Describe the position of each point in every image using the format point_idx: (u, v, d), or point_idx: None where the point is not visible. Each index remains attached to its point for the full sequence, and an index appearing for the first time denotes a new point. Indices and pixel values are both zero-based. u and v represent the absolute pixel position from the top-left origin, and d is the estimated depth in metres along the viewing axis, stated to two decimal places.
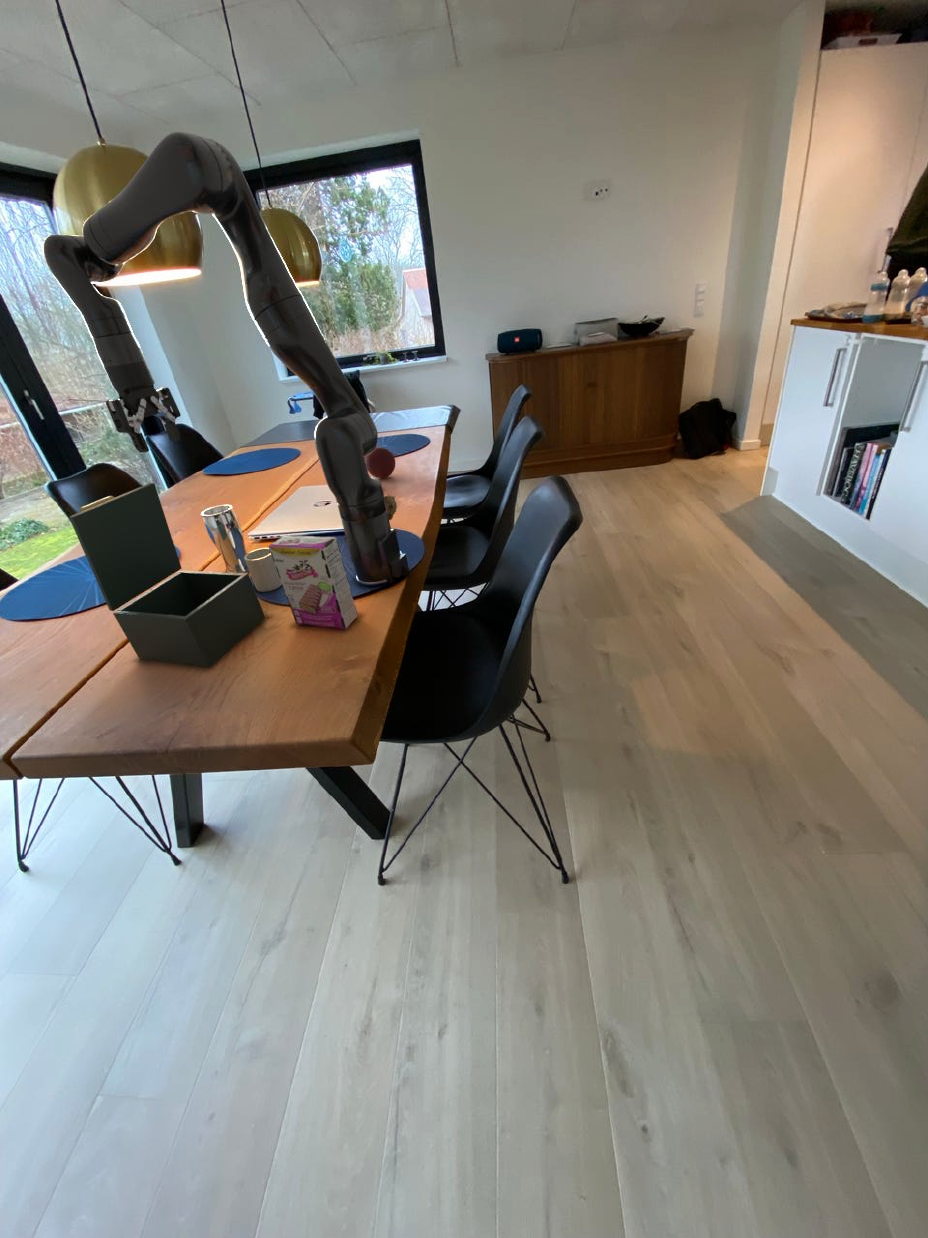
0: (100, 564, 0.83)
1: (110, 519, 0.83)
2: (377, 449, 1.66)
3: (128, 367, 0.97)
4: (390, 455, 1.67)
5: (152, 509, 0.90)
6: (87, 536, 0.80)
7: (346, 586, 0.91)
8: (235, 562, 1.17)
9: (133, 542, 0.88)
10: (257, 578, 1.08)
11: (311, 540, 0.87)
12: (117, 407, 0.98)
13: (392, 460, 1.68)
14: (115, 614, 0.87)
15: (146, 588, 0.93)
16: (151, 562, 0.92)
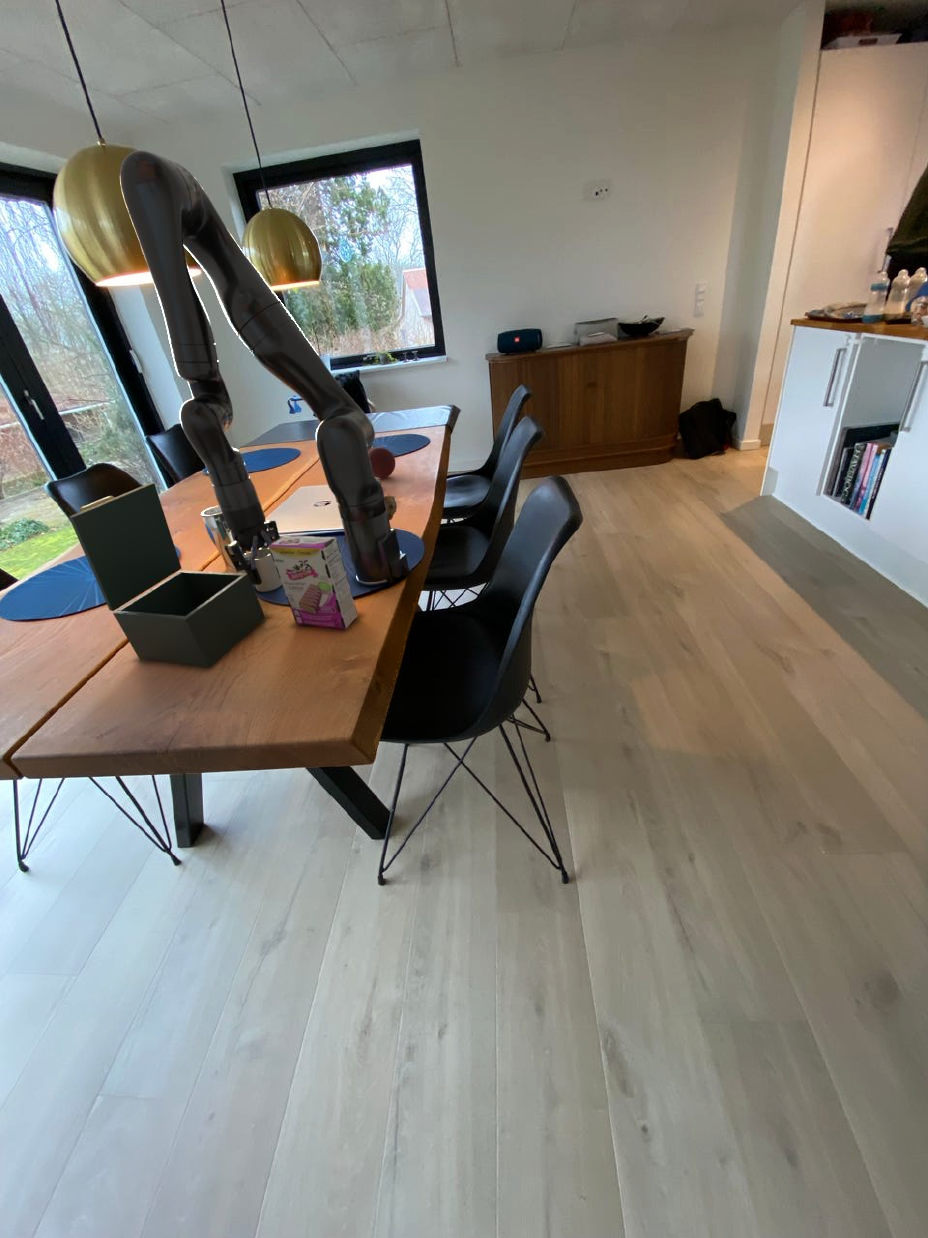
0: (100, 564, 0.83)
1: (110, 519, 0.83)
2: (377, 449, 1.66)
3: (246, 511, 1.00)
4: (390, 455, 1.67)
5: (152, 509, 0.90)
6: (87, 536, 0.80)
7: (345, 586, 0.91)
8: None
9: (133, 542, 0.88)
10: None
11: (311, 540, 0.87)
12: (236, 552, 1.01)
13: (392, 460, 1.68)
14: (115, 614, 0.87)
15: (146, 588, 0.93)
16: (151, 562, 0.92)
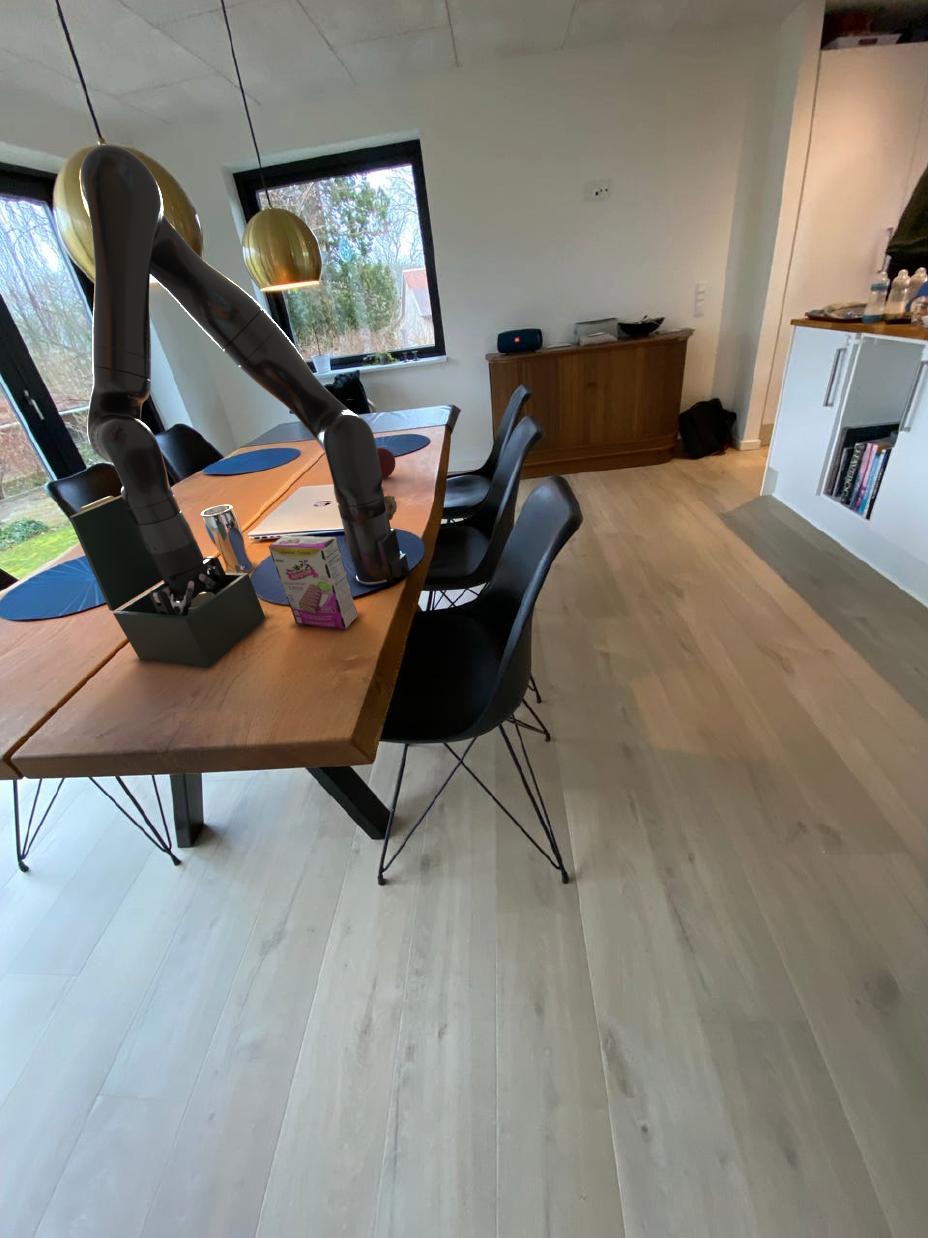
0: (100, 564, 0.83)
1: (110, 519, 0.83)
2: (377, 449, 1.66)
3: (176, 553, 0.83)
4: (390, 455, 1.67)
5: None
6: (87, 536, 0.80)
7: (345, 586, 0.91)
8: (235, 562, 1.17)
9: (133, 542, 0.88)
10: None
11: (311, 540, 0.87)
12: (163, 600, 0.83)
13: (392, 460, 1.68)
14: (115, 614, 0.87)
15: (146, 588, 0.93)
16: (151, 562, 0.92)
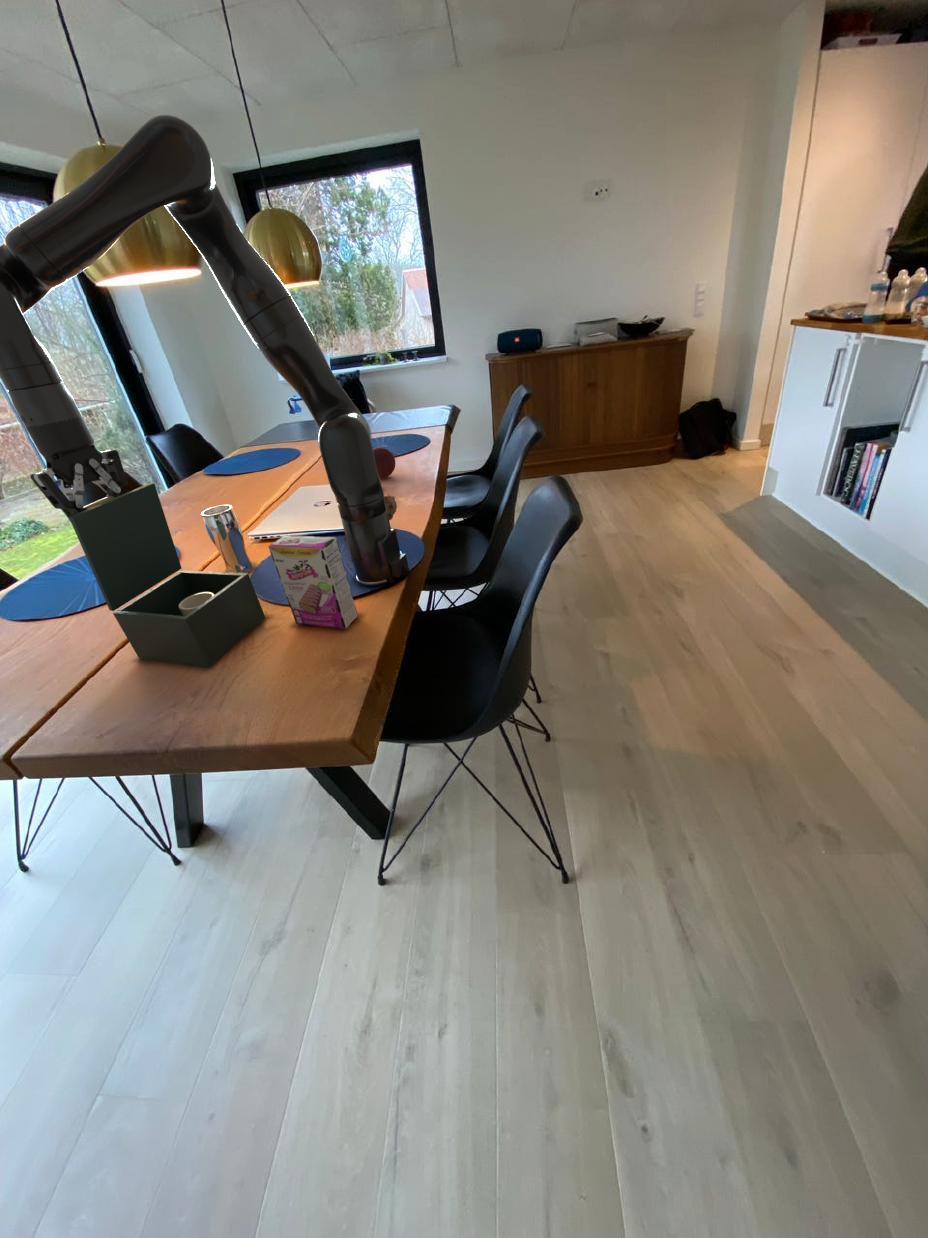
0: (100, 564, 0.83)
1: (110, 519, 0.83)
2: (377, 449, 1.66)
3: (55, 427, 0.76)
4: (390, 455, 1.67)
5: (152, 509, 0.90)
6: (87, 536, 0.80)
7: (346, 586, 0.91)
8: (235, 562, 1.17)
9: (133, 542, 0.88)
10: None
11: (311, 540, 0.87)
12: (46, 483, 0.77)
13: (392, 460, 1.68)
14: (115, 614, 0.87)
15: (146, 588, 0.93)
16: (151, 562, 0.92)
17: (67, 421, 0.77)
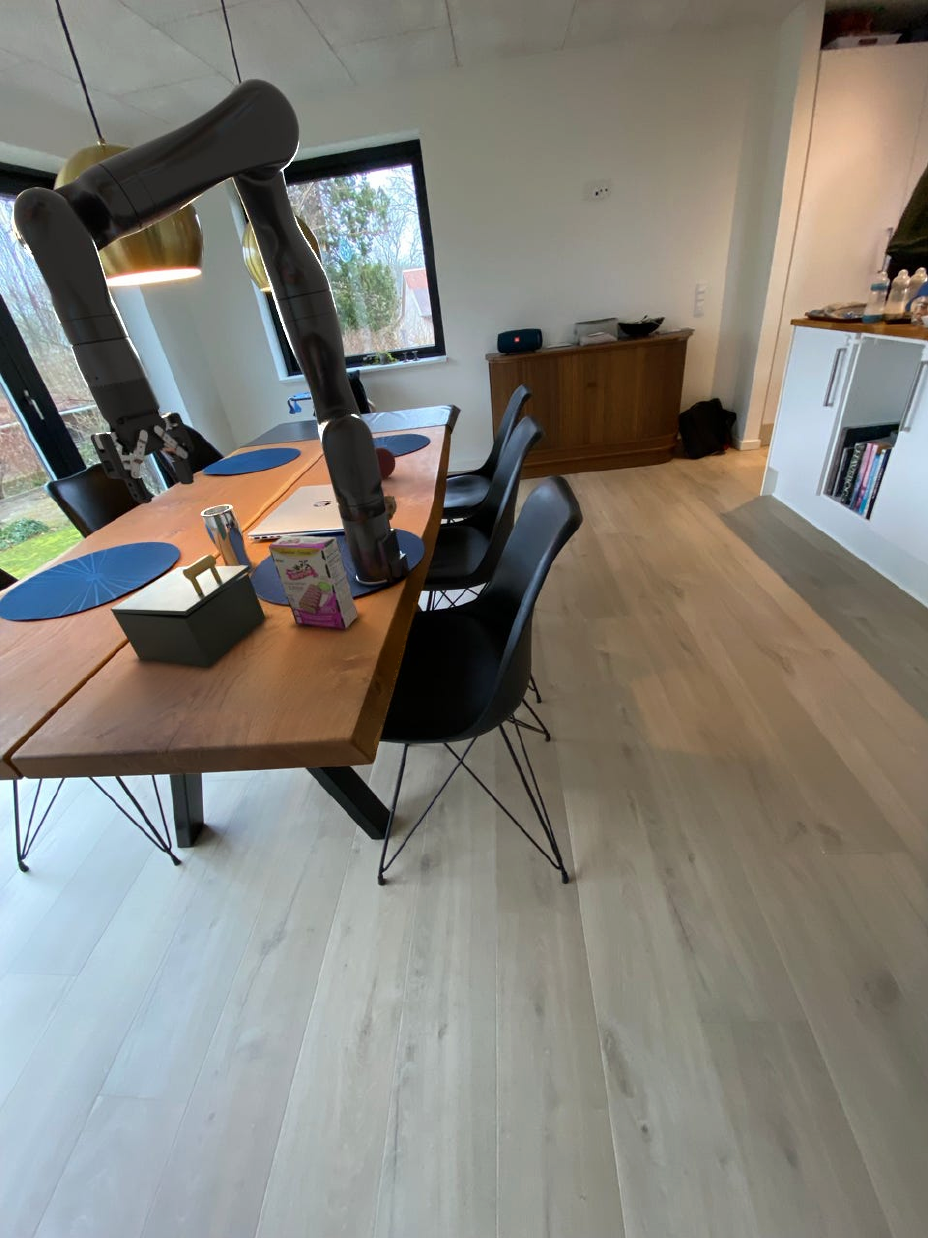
0: None
1: None
2: (377, 449, 1.66)
3: (122, 387, 0.68)
4: (390, 455, 1.67)
5: None
6: None
7: (345, 586, 0.91)
8: (235, 562, 1.17)
9: None
10: None
11: (311, 540, 0.87)
12: (107, 444, 0.69)
13: (392, 460, 1.68)
14: (115, 614, 0.87)
15: None
16: None
17: (134, 381, 0.69)
